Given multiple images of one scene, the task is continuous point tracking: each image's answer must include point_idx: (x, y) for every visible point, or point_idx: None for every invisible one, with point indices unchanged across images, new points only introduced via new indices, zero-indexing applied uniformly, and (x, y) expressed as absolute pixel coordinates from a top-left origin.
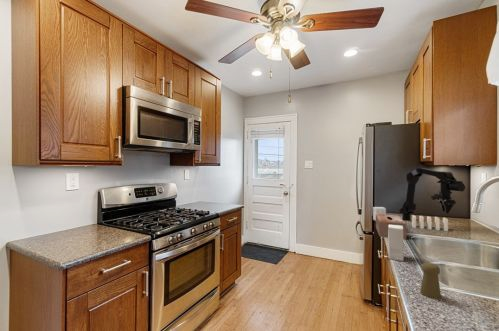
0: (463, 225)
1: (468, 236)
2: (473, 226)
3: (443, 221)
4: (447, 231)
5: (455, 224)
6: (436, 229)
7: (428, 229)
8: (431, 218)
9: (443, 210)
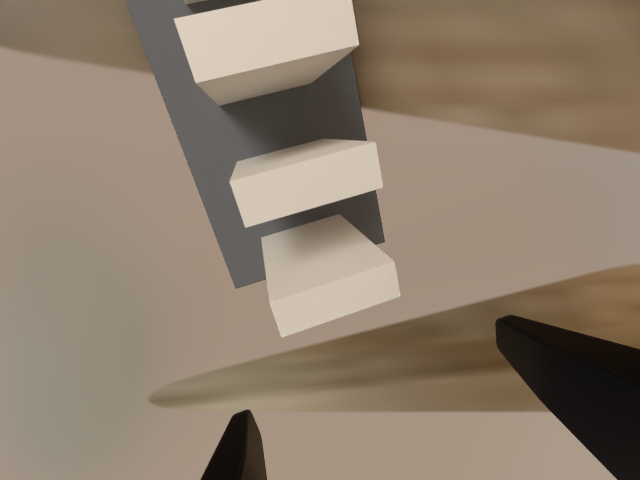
0: (607, 327)
1: (229, 390)
2: None
3: (339, 253)
4: (249, 258)
5: (621, 282)
6: (242, 160)
7: (189, 70)
8: (197, 82)
9: (516, 343)
